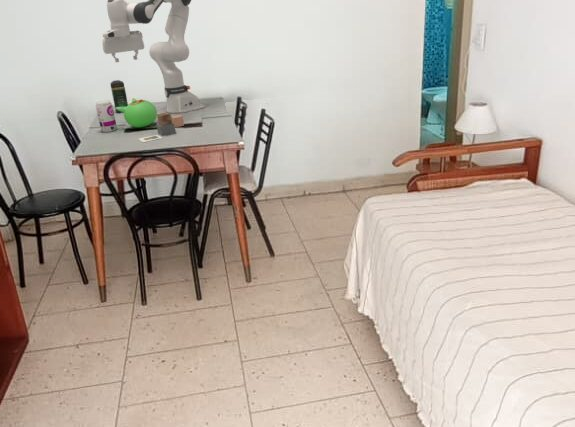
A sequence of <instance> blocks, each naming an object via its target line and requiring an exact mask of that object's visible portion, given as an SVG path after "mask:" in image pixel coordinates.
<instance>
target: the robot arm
mask: <svg viewBox="0 0 575 427" xmlns="http://www.w3.org/2000/svg"><path fill="white" fill-rule="evenodd" d="M191 1H192V0H147V1H142V2H134V3H133V2H131V3H130V2H127V1H126V0H107V1H106V10H107V16H108V20H109V21H110V30H108V31H106V32H103V33H102V37H103V39H102V50H103V53H104V54H106V55H108V54H109V55H110V54H111V56H112V58H114V61H115V63H119V62H120V60H119V58H118V57H116V54H117V53H125V52H131V51H134V55H133V56H132V57H133V60H138V54H139V51H140V50H141V51H142V50H144V48H145V44H144V40H143V39H144V38H143V37H144V36H143V33H142V32H141V31H140V30H130V29H131V28H130V24H133V25H134V24H137V25H138V24H143V25H146V24H150V23H151V22H152V20H153V19H154V15H155V14H156V12H157V11H158V9H159V8H160V7H161V5H163V3H170V4H171V7H170V9H169V13H168V16H167V19H166V24H165V28H164V31H165V33H166V34H167V36H168V40H167V41H158V42H154V43H152V44H151V45H150V46H149V51H148V54H149V56H150V58H151V59H152V60H153V61H154V62H155V63H156V64H157V65H158V67H159V70H160V72H161V74H162V78H163V83H164V95H165V97H166V112H167V113H170V114H171V113H172V114H177V113H181V114H183V113H187V112H193V111H197V110H200V109H204V108H205V105H204V104H203V103H201V101H200V99H199V97H198V96H197V95H195V94H194V93H192V92H191V91H189V90H191V86H190V85H185V83H184V76H183V71H182V70H181V69H180V68H178V67H177V65H176V64H175V63H181V62H183V61H186V60H188V59H189V56H190V49H189V46H188V45H187V43H186V40H185V33H186V30H187V26H188V25H187V24H188V21H189V17H190V16H189V14H190V7H189V5H190V4H191ZM166 112H165V113H166Z"/></svg>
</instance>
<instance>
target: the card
mask: <svg viewBox="0 0 575 427" xmlns="http://www.w3.org/2000/svg"><path fill="white" fill-rule="evenodd" d="M162 139H163V136H161V135H160V134H154V135H150V136H144V137H140V138H137V140H138V141H139V142H141V143H148V142H154V141H157V140H162Z"/></svg>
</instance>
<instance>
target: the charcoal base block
mask: <svg viewBox="0 0 575 427" xmlns="http://www.w3.org/2000/svg"><path fill="white" fill-rule="evenodd" d="M156 130H157V135H159V136H160V137H164V136H169V135H174V134H176V133H177V131H176V127H175V125H174V123H172V124H169V125H164V126H162V125H160V124H159V123H156Z"/></svg>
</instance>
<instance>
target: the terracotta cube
mask: <svg viewBox="0 0 575 427" xmlns="http://www.w3.org/2000/svg"><path fill="white" fill-rule="evenodd" d="M171 120H172V123H174V125H175V128H179V127H182V126H183V127H184V126H185V123H184V116H183V115H181V114H177V115H171Z"/></svg>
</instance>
